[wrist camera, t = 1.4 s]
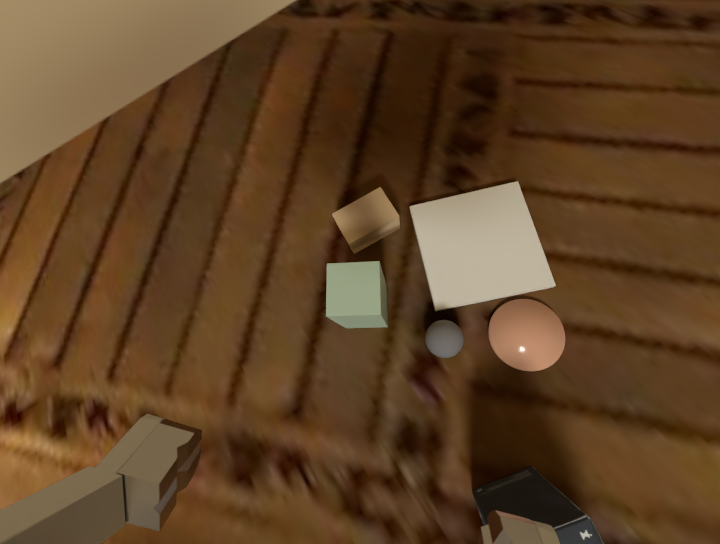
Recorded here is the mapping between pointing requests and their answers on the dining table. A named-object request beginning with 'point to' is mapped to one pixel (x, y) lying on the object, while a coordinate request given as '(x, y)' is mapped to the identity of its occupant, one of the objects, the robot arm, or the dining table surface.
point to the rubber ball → (444, 338)
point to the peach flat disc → (526, 335)
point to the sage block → (356, 294)
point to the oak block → (367, 220)
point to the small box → (537, 505)
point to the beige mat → (480, 247)
